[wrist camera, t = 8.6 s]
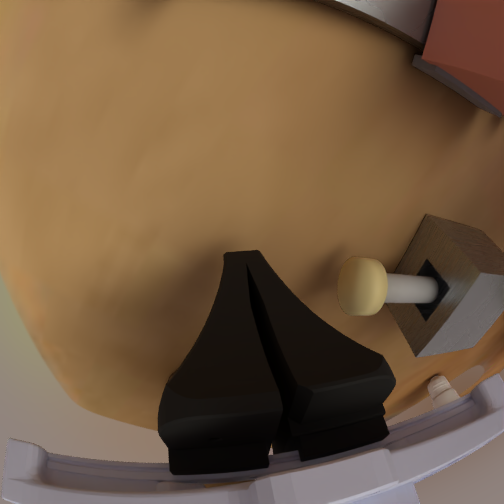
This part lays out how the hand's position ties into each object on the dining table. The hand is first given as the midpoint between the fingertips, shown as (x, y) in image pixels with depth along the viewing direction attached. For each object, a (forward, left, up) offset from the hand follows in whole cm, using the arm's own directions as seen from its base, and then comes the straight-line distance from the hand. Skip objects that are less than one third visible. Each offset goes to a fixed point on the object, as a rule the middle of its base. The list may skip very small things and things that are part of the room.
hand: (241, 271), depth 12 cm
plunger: (-7, 0, -1) cm, 8 cm away
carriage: (-8, -12, -2) cm, 14 cm away
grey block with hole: (-13, 0, -2) cm, 13 cm away
